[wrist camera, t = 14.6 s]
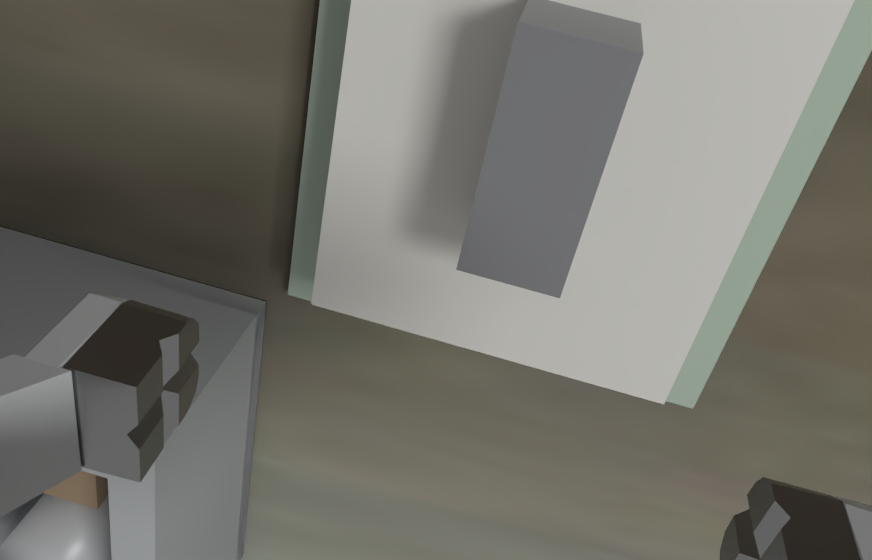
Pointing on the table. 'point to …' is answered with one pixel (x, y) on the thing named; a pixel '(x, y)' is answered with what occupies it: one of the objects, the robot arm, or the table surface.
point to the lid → (559, 170)
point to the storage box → (183, 445)
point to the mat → (860, 33)
